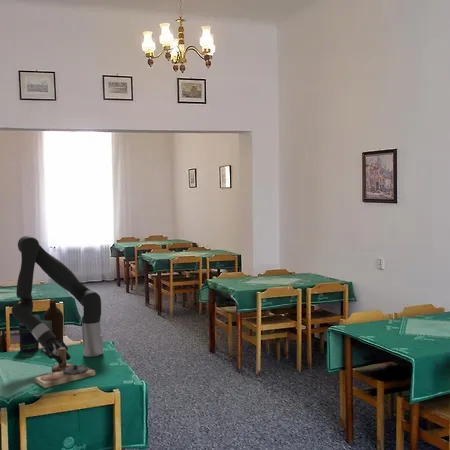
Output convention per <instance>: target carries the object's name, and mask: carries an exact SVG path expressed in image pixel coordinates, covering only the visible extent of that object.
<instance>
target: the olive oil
mask: <svg viewBox="0 0 450 450" xmlns="http://www.w3.org/2000/svg"><path fill="white" fill-rule="evenodd" d="M42 319H43V320H42V321H43V323H44V324H45V325H46V326H47V327H48V328H49V329H50V330H51V332H52V333H53V334H54V335H55V339H56V340H57V341H61V340H63V341H64V314H63V312H62V311H61V310H60V308H58V307H57V302H56V299H55V298H54V299H50V300H49V307H48V308H47V309H46V311H45V312H44V313H43V318H42Z"/></svg>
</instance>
